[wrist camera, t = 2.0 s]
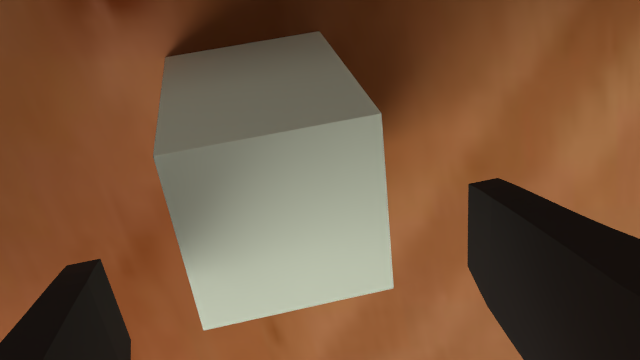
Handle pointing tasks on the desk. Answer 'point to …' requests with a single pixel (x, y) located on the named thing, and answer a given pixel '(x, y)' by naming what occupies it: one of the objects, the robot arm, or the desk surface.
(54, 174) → the desk surface
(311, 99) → the sage green block
